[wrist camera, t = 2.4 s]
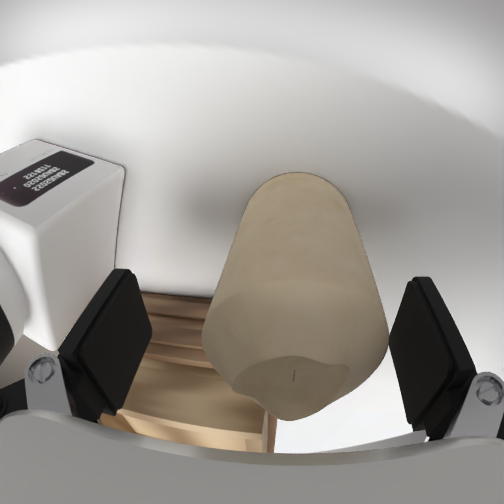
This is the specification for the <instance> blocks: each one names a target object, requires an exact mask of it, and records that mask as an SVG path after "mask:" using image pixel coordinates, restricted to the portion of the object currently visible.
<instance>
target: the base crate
mask: <svg viewBox="0 0 504 504" xmlns="http://www.w3.org/2000/svg"><path fill="white" fill-rule="evenodd" d="M141 295H142V298H143V302H144V305H145V308H146V311H147V314H148V317H149V320H150V323H151V326H152V337H151V340H150V342H149V344H148V346H147V349H146V351H145V353H144V356H143V358H147V359H153V360H159V361H164V362H170V363H177V364H183V365H190V366H197V367H205V368H213V369H214V367H213V366H212V365H211V363H210V362H209V360H208V358H207V357H206V354H205V352H204V349H203V345H202V330H203V325H204V322H205V319H206V316H207V313H208V311H209V308H210V305H211V302H212V299H206V298H194V297H182V296H171V295H161V294H151V293H141ZM276 427H277V418H276V417H274V416H272V415H271V414H269V419H268V451H267V453H274V445H275V436H276Z"/></svg>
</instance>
